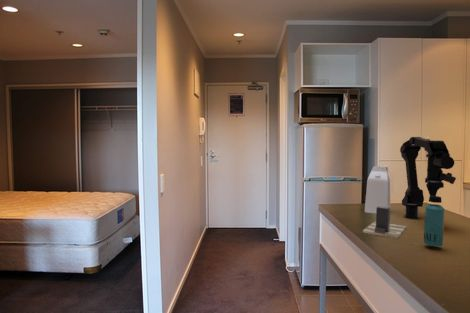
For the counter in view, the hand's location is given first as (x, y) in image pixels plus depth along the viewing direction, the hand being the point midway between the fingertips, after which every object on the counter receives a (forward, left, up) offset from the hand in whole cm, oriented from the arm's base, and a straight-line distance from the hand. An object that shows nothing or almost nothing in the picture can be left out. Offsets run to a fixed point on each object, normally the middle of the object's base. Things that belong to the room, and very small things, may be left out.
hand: (433, 200), depth 152 cm
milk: (-24, -25, -13) cm, 37 cm away
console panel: (+17, -19, -13) cm, 29 cm away
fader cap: (+22, -20, -12) cm, 32 cm away
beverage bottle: (+34, -2, -13) cm, 37 cm away
